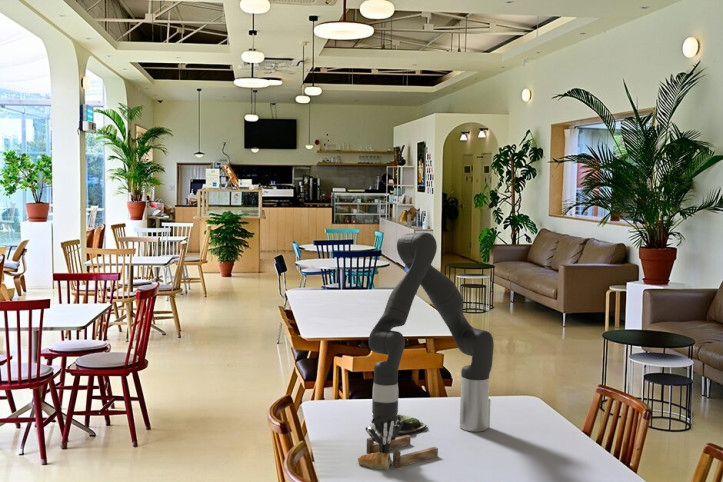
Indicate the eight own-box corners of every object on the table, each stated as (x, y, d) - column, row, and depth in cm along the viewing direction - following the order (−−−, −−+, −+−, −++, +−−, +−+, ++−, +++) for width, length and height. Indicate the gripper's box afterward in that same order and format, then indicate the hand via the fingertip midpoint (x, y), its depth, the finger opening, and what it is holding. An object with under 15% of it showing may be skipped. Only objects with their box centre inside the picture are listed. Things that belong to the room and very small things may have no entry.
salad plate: (354, 424, 253) (355, 411, 253) (394, 415, 264) (394, 402, 264) (392, 440, 238) (393, 426, 238) (433, 429, 249) (433, 416, 249)
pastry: (355, 468, 214) (356, 455, 214) (360, 459, 221) (360, 447, 221) (388, 471, 213) (389, 457, 212) (392, 462, 219) (392, 449, 219)
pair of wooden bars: (407, 442, 235) (407, 428, 235) (437, 456, 224) (438, 441, 224) (366, 452, 226) (366, 438, 226) (396, 467, 215) (396, 452, 214)
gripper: (394, 391, 227) (393, 447, 228) (359, 398, 219) (358, 456, 220) (411, 397, 221) (409, 454, 222) (375, 404, 213) (373, 464, 214)
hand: (383, 455), depth 221 cm, fingers closed
